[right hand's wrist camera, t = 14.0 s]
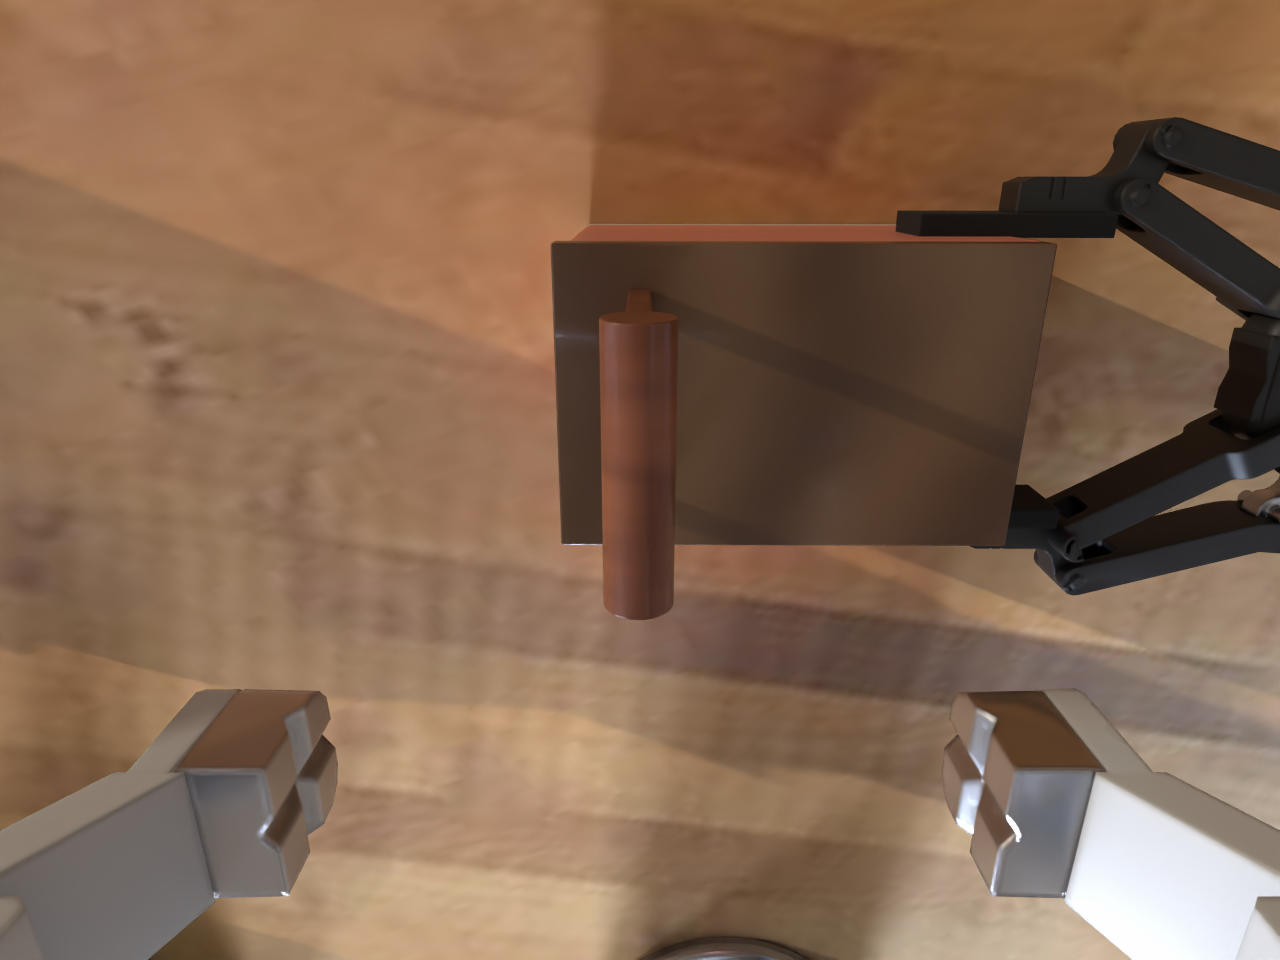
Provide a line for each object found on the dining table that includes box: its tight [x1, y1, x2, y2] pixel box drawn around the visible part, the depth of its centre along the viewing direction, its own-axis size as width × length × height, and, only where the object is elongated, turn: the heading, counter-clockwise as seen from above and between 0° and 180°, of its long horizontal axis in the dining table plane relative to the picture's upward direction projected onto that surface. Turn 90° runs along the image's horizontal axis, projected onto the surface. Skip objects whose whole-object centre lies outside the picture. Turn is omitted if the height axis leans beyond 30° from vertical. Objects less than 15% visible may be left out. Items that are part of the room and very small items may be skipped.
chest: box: [571, 224, 1041, 242], centre depth 31 cm, size 15×10×10 cm
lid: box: [551, 241, 1057, 620], centre depth 23 cm, size 15×10×8 cm, turn 90°
